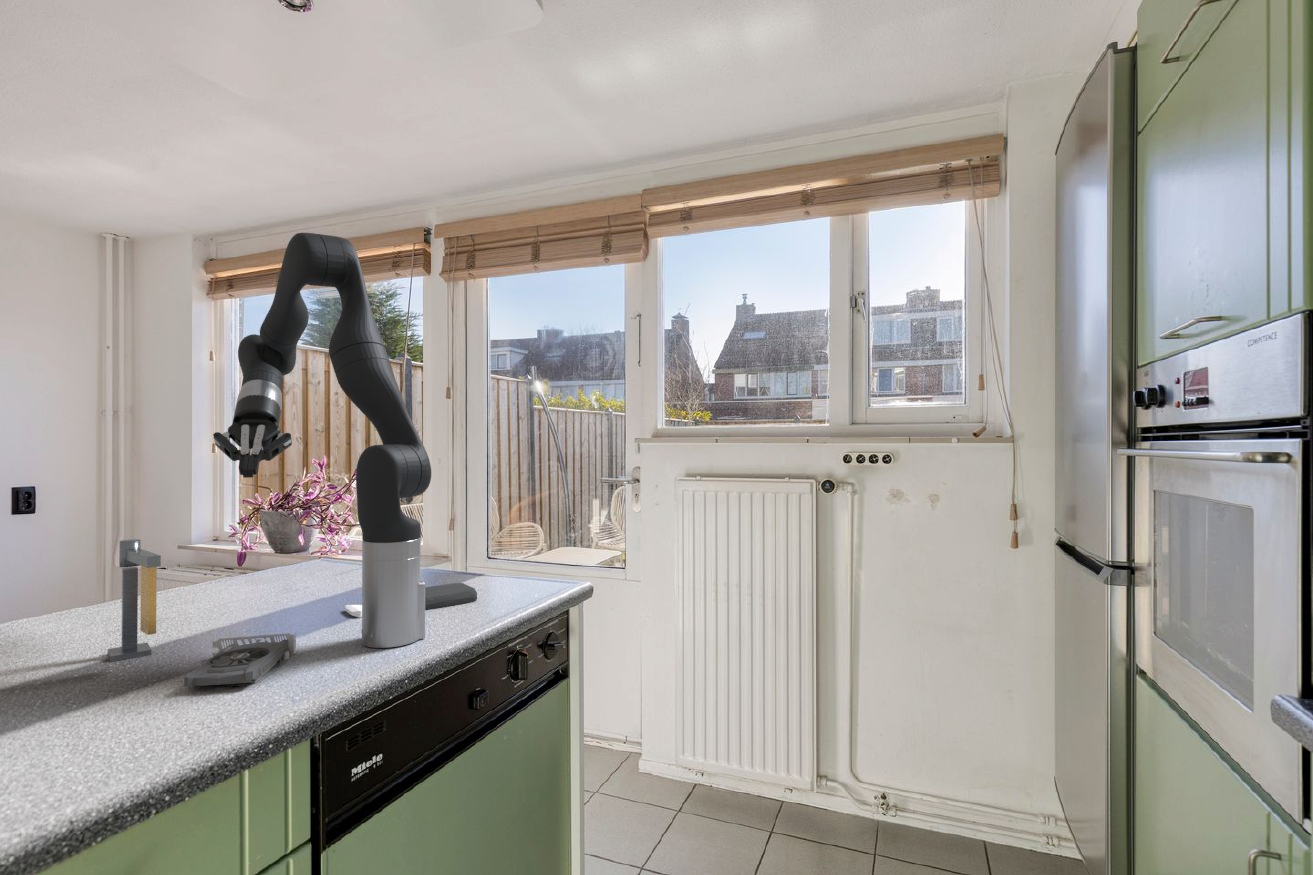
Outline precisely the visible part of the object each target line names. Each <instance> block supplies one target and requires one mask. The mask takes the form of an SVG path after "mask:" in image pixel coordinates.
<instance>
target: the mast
mask: <svg viewBox="0 0 1313 875" xmlns="http://www.w3.org/2000/svg"><path fill="white" fill-rule="evenodd" d="M121 568H122V569H121V646H118V647H113V648H112V647H111V648H107V650H106V651H107V657H108V660H109V662H110V663H112V662H117V661H123V660H128V659H129V660H130V659H134V658H140V657H145V656H151V655H152V647H151V646H150V644H149V643H148V642H142V643H138V619H139V618H138V617H139V616H138V610H139V609H138V606H139V604H138V597H139V594H138V593H139V592H138V590H139V587H138V586H139V569H138V566H134V567H121Z"/></svg>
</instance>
